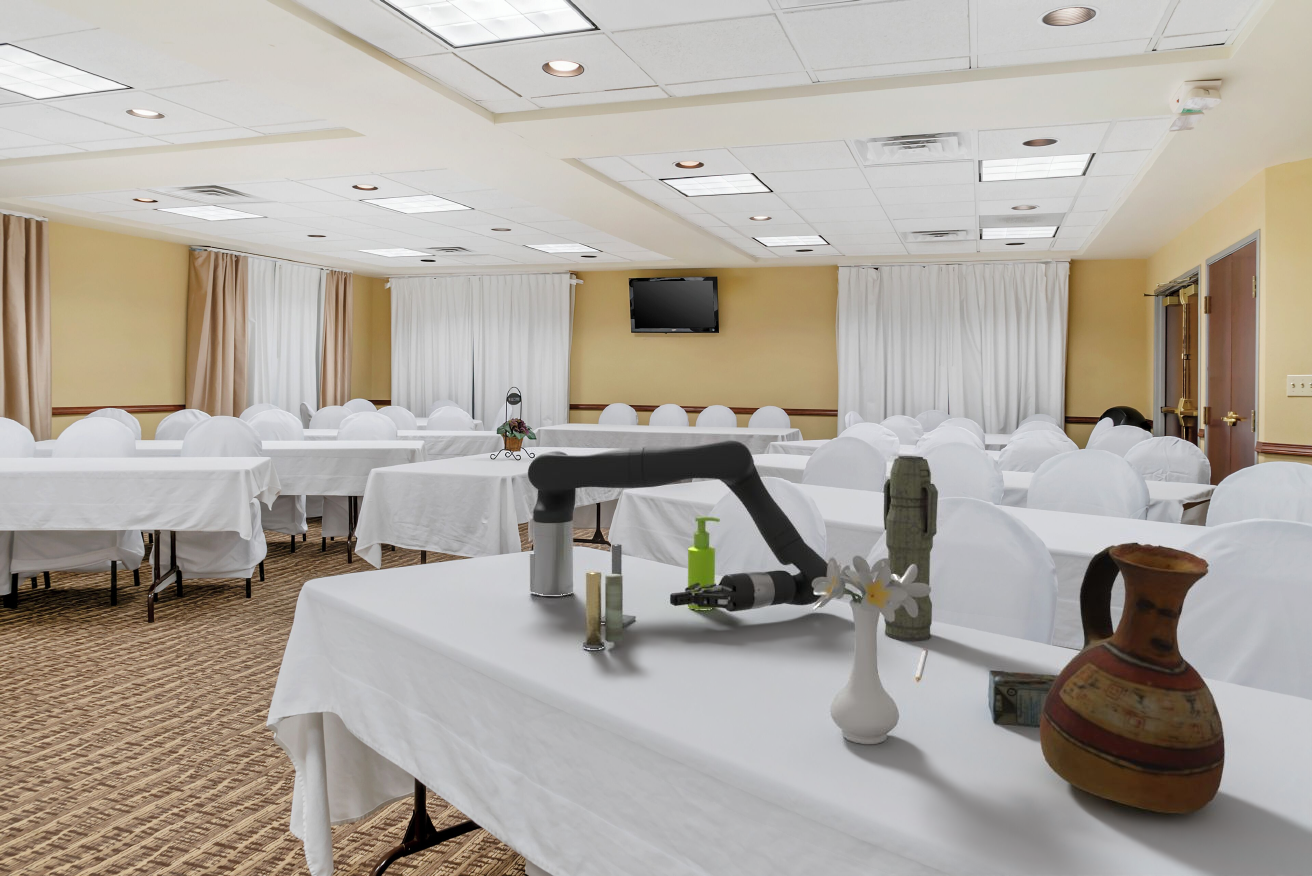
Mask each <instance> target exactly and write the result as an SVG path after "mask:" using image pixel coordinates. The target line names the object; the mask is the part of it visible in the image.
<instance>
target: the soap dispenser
mask: <svg viewBox="0 0 1312 876" xmlns="http://www.w3.org/2000/svg"><path fill="white" fill-rule="evenodd" d="M694 519H695V522H697V530H696V531H695V532H694V533H693V546H691V547H690V546H689V547H688V548H687V587H689V586H691V585H693V584H695V583H700V586H704V585H707V584H710V583H716V581H715V580H716V577H715V574H716V572H715V571H716V570H715V569H716V548H715V547H712V546H710V532H709V531H708V530H706V522H716V523H719V522H720V521H721V520H720V518H718V517H714V516H713V517H712V516H698V517H695V518H694ZM688 607H689V608H692V609H699V610H700V609H711V608H713V607H698V605H694V606H693V605H691V604H687V608H688ZM689 608H688V609H689Z"/></svg>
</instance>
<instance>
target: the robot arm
mask: <svg viewBox="0 0 1312 876" xmlns="http://www.w3.org/2000/svg"><path fill="white" fill-rule="evenodd" d="M527 477H528V480H529V482H530V484H531V485H532V486H533V487H534V488H535V489H537V499H536V503H535V506H534V508H533V511H532V523H533V524H532V527H533V529H532V531H533V532H532V535H533V536H532V537H533V538H532V541H533V545H532V546H533V550H532V551H533V552H531V553H530V554H529V592H530V591H531V592H535V593H538V594H543V595H561V594H562V595H563V594H568V593H571V592H573V593H574V536H573V535H574V528H573V527H574V519H573V518H574V510H575V506H576V493H577V492H576V491H577V490H576V489H583V488H604V489H642V488H654V487H661V486H665V485H670V484H672V483H673V484H674V483H676V482H679V481H684V480H690V479H691V480H692V479H712V480H719V481H721V482H722V483H724V485H726V487H728V488H729V490H730V491H731V492H732V493H733V494H734V495H735V496H736V497H737V498H738V500H739V501H740V502H741V503H742V505H743V506H744V507H745V509H746V510H747V511H746V512H748V515H750V517H751V518H752V521H753V522H754V524H755V525H756V528H757V529H758V531H759V533H760V535H761V536H762V538H763V540H764V542H765V543H766V544H767V546H768V547H769V549H770V551H771V552H772V553H773V555H774V557H775V558H776V559H777V561H778V562H779V563H780V564H781V565H783V566H789V565H790V566H791V565H793V566H794V567H795V568H796V569H798V571H799V572H798V573H797V574H791V573H790V572H788V571H786V570H780V569H779V570H769V571H749V572H741V573H740V572H739V573H738V572H737V573H730V574H725V575H723V576H722V578H721V579H720V582H719V583H718V585H717V583H716V582H715V583H710V584H707V585H704V586H700V583H695V584H693V585H691V586H689V587H688V586H687V587H686V588H685V590H684V591H683V592H681V591H680V592H673V593H672V592H671V594H670V595H669V603H670V605H673V606H675V607H677V606H686V605H687V606H688V604H691V605H693V606H694V605H698V607H713V608H714V609H716V608H718V609H725V610H726V611H728V612H732V613H733V612H740V611H741V612H742V611H749V610H757V609H762V608H765V607H769V606H776V605H777V606H778V605H783V604H786V605H790V606H791V605H793V606H808V605H812V604H815V603H816V602H817V600H818V599H819V598H821V596H822V595H815V594H814V593H813V591H814V588H813V587H812V582H813V580H814V579H816V578H819V577H827V567H828V562H827V561H826V560H825V559H824V558H823V557H822V556H821V555H819V553H817V552H816V551H815V550H814V549H812V547H810V545H808V544H807V542H805V540H804V539H803V537H802V536H801V534H800V532H798V531H799V530H798V529H797V528H796V527H795V526H794V524H793V523H792V521H791V520H790V519H789V517H788V516H787V515H786V513H785V512H784V511H783V509H782V508H781V507H780V506H779V505H778V503H777V502H776V501H775V500H774V498H773V497H772V495H771V494H770V492H769V491H768V489H767V487H766V486H765V484H764V482H763V481H762V479H761V476H760V474H759V471H758V470H757V468H756V466H755V460H754V458H753V455H752V453H751V451H750V450H749V448H748V447H747V446H746V445H745V444H743V442H740V441H737V440H722V441H717V442H710V443H705V444H698V445H690V446H688V445H687V446H676V445H675V446H672V445H671V446H639V447H626V448H625V447H624V448H617V449H612V450H607V451H601V452H598V453H593V454H592V453H591V454H583V455H579V454H577V455H571V454H570V455H569V454H567V453H566V452H563V451H560V450H553V451H549V452H544V453H541V454H539V455H537V456H536V457H534V459H533V460H532V461H531V462H530V464H529V466H528V469H527Z"/></svg>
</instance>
